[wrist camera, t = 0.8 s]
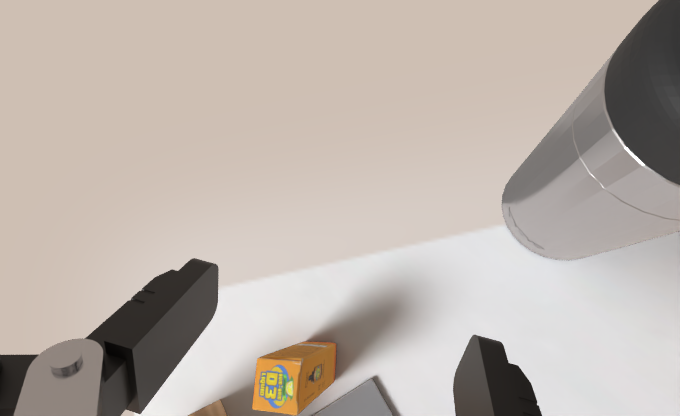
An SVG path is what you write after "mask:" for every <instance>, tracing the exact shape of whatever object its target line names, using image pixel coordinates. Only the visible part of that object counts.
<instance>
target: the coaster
mask: <svg viewBox="0 0 680 416" xmlns="http://www.w3.org/2000/svg"><path fill="white" fill-rule="evenodd" d="M313 416H394V415H393V414H392V412H391V410H390V408H389V407H388V405H387V403H386V401H385V400H384V398H383V396H382V394H381V392H380V391H379V389H378V387H377V385H376V384H375V382H374V380H373V378H371V379H369V380H368V381H366V382H365V383H363V384H362V385H360V386H358V387H357V388H355V389H354V390H352V391H351V392H349V393H347V394H346V395H344V396H343V397H341V398H340V399H338V400H337V401H335V402H333V403H332V404H330V405H329V406H327V407H326V408H324V409H322V410H321V411H319V412H318V413H316V414H315V415H313Z"/></svg>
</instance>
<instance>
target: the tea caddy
mask: <svg viewBox="0 0 680 416" xmlns="http://www.w3.org/2000/svg"><path fill="white" fill-rule="evenodd" d="M188 416H227V414H226V412H225V410H224V407H223V405H222V402H221V400H218V401H216V402H214V403H212V404H210V405H208V406H206V407H204V408H202V409H200V410H198V411H196V412H194V413H192V414H190V415H188Z"/></svg>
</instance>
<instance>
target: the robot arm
mask: <svg viewBox="0 0 680 416" xmlns="http://www.w3.org/2000/svg"><path fill="white" fill-rule="evenodd" d="M502 211H503V217H504V219H505V222H506V225H507V227H508V228H509V230H510V231H511V233H512V234H513V236H514V237H515V238H516V239H517V240H518V241H519V242H520V243H521V244H522V245H523V246H525V247H526V248H528V249H529V250H531V251H532V252H534V253H537V254H539V255H541V256H543V257H547V258H551V259H556V260H574V259H581V258H585V257H588V256H592V255H595V254H599V253H603V252H607V251H611V250H614V249H618V248H621V247H625V246H628V245H632V244H636V243H639V242H643V241H646V240H650V239H654V238H657V237H661V236H664V235H668V234H672V233H675V232H679V231H680V0H659V1H658V2H657V3H656V4H655V5H654V6H653V7H652V8H651V9H650V10H649V11H648V12H647V13H646V14H645V15H644V16H643V17H642V19H641V20H640V21H639V22H638V23H637V25H636V26H635V27H634V28H633V29H632V31H631V32H630V33H629V34H628V35H627V37H626V38H625V39H624V40H623V41H622V43H621V44H620V45H619V47H618V48H617V49H616V51H615V52H614V53H613V54H612V56H611V57H610V58H609V59H608V60H607V62H606V63H605V64H604V65H603V66H602V68H601V69H600V70H599V72H597V74H596V75H595V76H594V77H593V79H592V80H591V81H590V82H589V84H588V85H587V86H586V87H585V89H584V90H583V91H582V93H581V94H580V95H579V96H578V97H577V99H576V100H575V101H574V102H573V104H571V106H570V107H569V108H568V110H567V111H566V112H565V113H564V114H563V115H562V117H561V118H560V119H559V120H558V121H557V123H556V124H555V125H554V126H553V127H552V129H551V130H550V131H549V132H548V133H547V135H546V136H545V137H544V138H543V139H542V141H541V142H540V143H539V144H538V146H537V147H536V148H535V149H534V150H533V152H532V153H531V154H530V155H529V156H528V158H527V159H526V160H525V161H524V162H523V164H522V165H521V166H520V167H519V168H518V170H517V171H516V172H515V173H514V174H513V176H512V177H511V178H510V180H509V182H508V183H507V185H506V187H505V189H504V193H503V196H502ZM217 303H218V266H217V265H216V264H213V263H209V262H206V261H202V260H199V259H191V260H190V261H189V262H188V263H186V264H185V265H184V266H183V267H182V268H181V269H180V270H179V271H175V270H170V271H168V272H166V273H164V274H161V275H159V276H157V277H155V278H154V279H153V280H152V281H150V282H149V283H148V284H147V285H146V286H145V287H144V288H142V291H139V292H138V293H137V294H135V296H133V297H132V299H131V300H130V301H127V302H126V303H125V304H124V305H123V306H122V307H121V308H119V309H118V310H117V311H116V312H115V313H114V314H113V315H112V316H111V317H109V318H108V319H107V320H106V321H105V322H103V323H102V324H101V325H100V326H99V327H98V328H97V329H96V330H94V331H93V332H92V333H91V334H90V335H89V336H88V337H86V338H85V339H72V340H68V341H64V342H61V343H58V344H56V345H54V346H52V347H50V348H48V349H46V350H45V351H44V352H42V353H41V354H40V355H0V416H121V414H122V413H123V412H124V410H125V409H126V410H129V411H132V412H135V413H138V414H141V412H142V411H143V410H144V409H145V407H146V406H147V405H148V403H149V402H150V401H151V399H152V398H153V397H154V395H155V394H156V393H157V391H158V390H159V389H160V387H161V386H162V385H163V383H164V382H165V381H166V379H167V378H168V377H169V375H170V374H171V373H172V371H173V370H174V369H175V368H176V366H177V365H178V364H179V362H180V361H181V360H182V358H183V357H184V356H185V354H186V353H187V352H188V350H189V349H190V348H191V346H192V345H193V344H194V342H195V341H196V340H197V338H198V337H199V336H200V334H201V333H202V332H203V330H204V329H205V328H206V327H207V325H208V324H209V323H210V321H211V320H212V318H213V316H214V314H215V311H216V308H217ZM453 393H454V403H455V412H456V416H542V414H541V411H540V409H539V406H538V405H537V400H536V397H535V394H534V391H533V388H532V385H531V383H530V382H529V380H528V379H527V377H526V376H525V375H524V373H523V372H522V370H521V369H520V368H519V366H517V365H514V364H510V363H508V360H507V356H506V353H505V349H504V346H503V344H502V343H501V342H500V341H496V340H492V339H488V338H485V337H481V336H477V335H473V336H472V337H471V339H470V341H469V343H468V345H467V348H466V350H465V352H464V354H463V357H462V359H461V361H460V363H459V365H458V368H457V370H456V373H455V377H454V384H453Z"/></svg>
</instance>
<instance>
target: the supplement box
mask: <svg viewBox="0 0 680 416" xmlns="http://www.w3.org/2000/svg"><path fill="white" fill-rule="evenodd" d="M335 366H336V343H329V342H301V343H298V344H295V345H292V346H290V347H287V348H284V349H282V350H279V351H276V352H273V353H270V354H267V355H265V356H262V357H260V358H258V359H257V367H256V377H255V386H254V396H253V404H252V409H253V410H260V411H268V412H277V413H283V414H290V415H298V414H299V413H300V412H301V411H302V410H303V409H304V408H305V407H307V406H308V405H309V404H310V403H311V402H312V401H313V400H314V399H315V398H316V397H318V396H319V395H320V394H321V393H322V392H323V391H324V390H325V389H327V388H328V387H329V386H330V385H331V384H332V383H333V382H334V380H335Z"/></svg>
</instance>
